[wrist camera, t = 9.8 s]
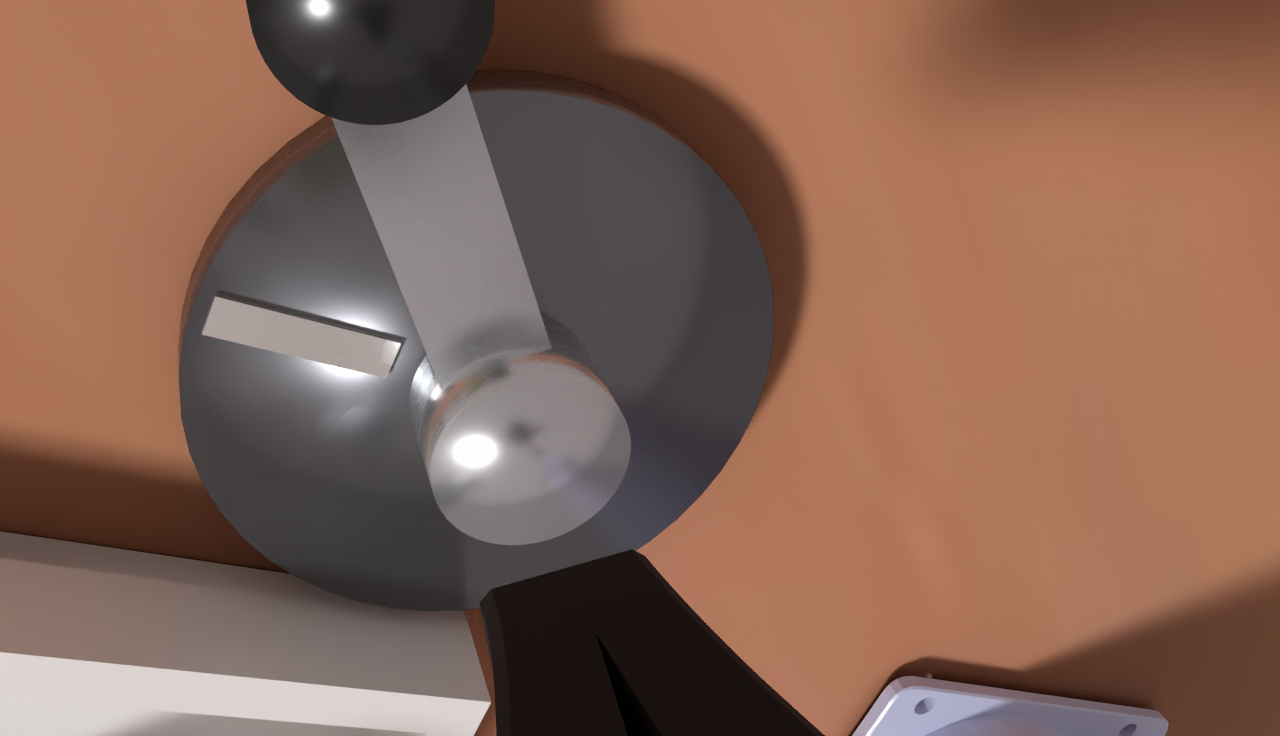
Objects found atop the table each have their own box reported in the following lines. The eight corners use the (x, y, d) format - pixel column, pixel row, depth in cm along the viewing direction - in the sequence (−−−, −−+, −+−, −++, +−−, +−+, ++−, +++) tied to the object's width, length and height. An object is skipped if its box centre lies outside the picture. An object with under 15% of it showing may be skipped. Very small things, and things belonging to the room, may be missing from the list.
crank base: (844, 185, 19) (876, 212, 18) (608, 604, 23) (627, 644, 22) (297, -33, 15) (306, -10, 14) (104, 525, 18) (101, 572, 17)
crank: (612, 430, 19) (690, 577, 16) (443, 496, 18) (493, 658, 16) (417, -215, 13) (485, -163, 10) (169, -139, 13) (170, -64, 10)
